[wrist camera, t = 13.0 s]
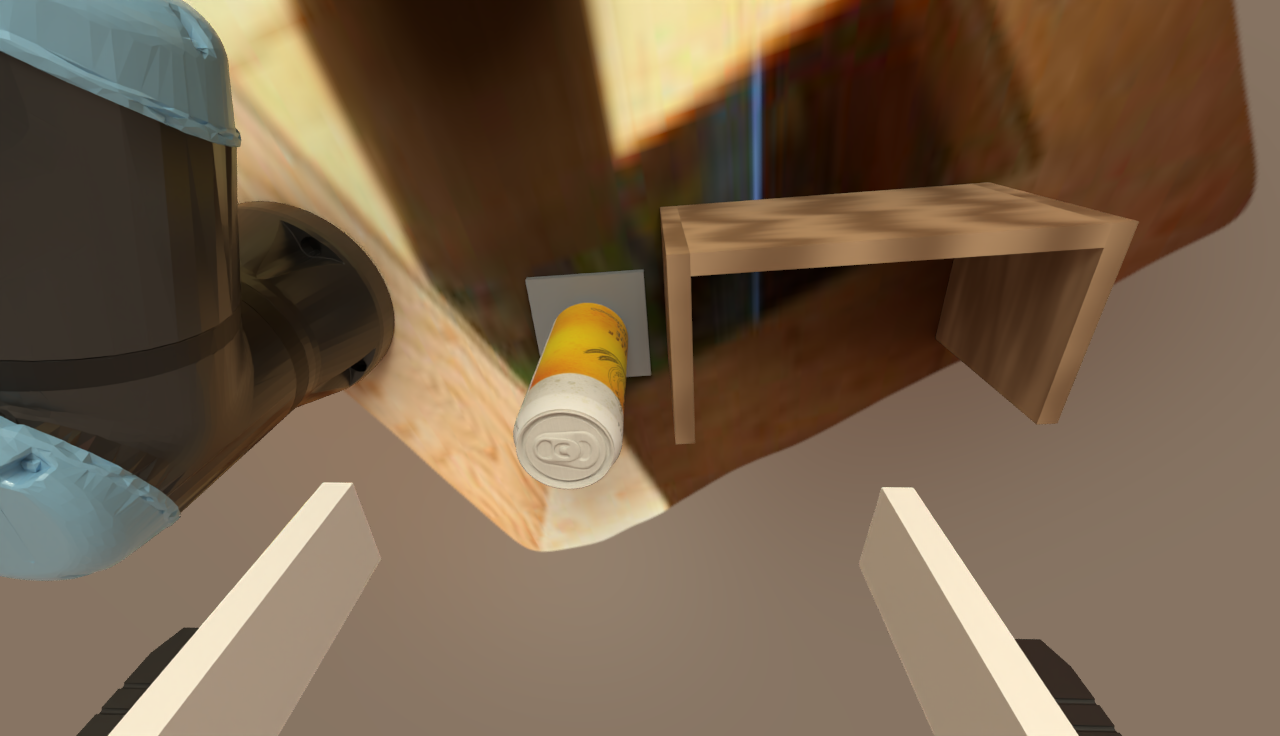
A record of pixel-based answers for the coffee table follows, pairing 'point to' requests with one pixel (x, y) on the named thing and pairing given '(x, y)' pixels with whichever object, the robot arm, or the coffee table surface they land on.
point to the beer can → (575, 400)
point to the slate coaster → (601, 288)
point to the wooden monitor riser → (911, 231)
